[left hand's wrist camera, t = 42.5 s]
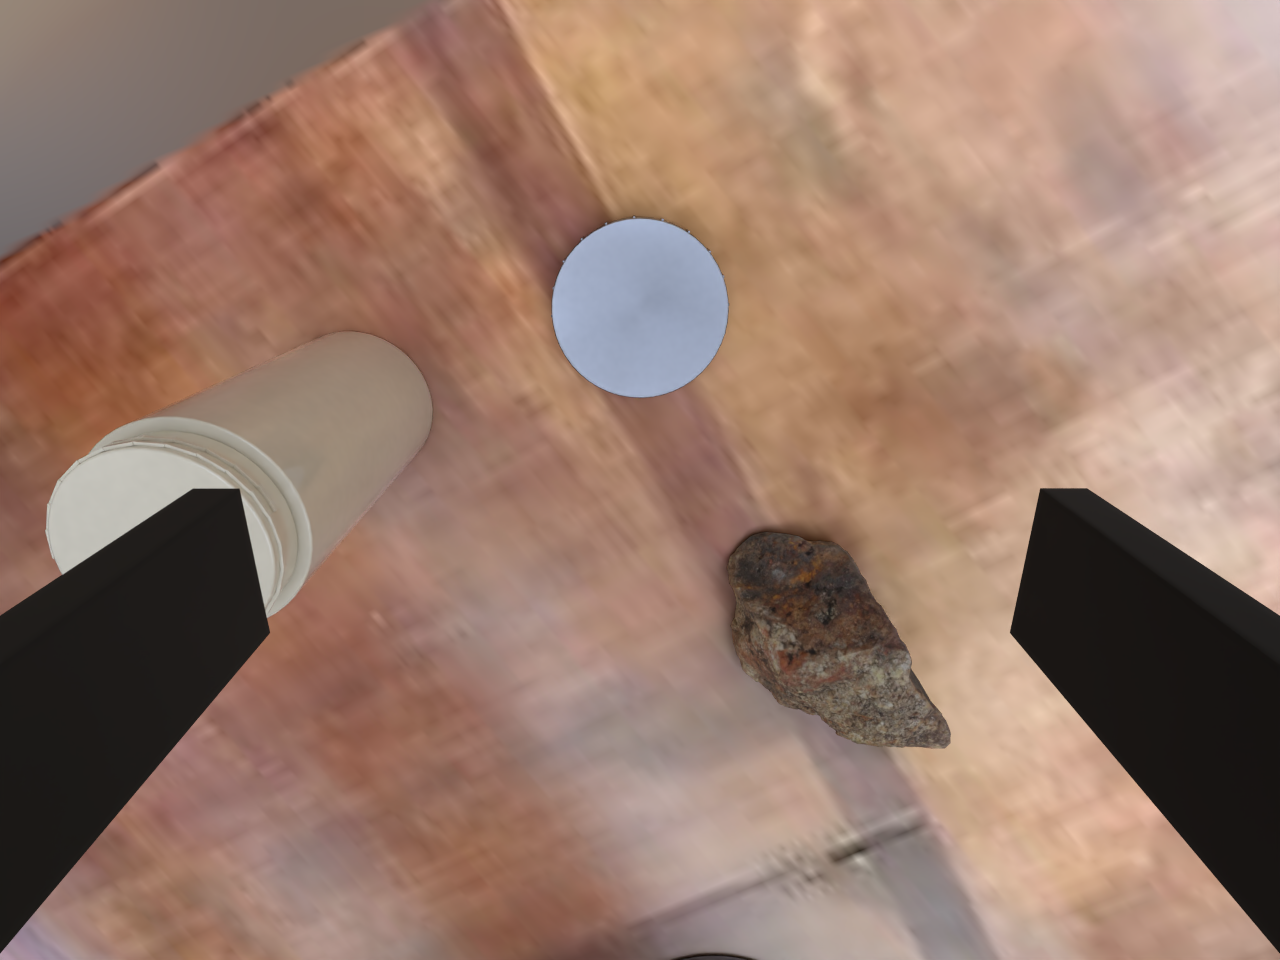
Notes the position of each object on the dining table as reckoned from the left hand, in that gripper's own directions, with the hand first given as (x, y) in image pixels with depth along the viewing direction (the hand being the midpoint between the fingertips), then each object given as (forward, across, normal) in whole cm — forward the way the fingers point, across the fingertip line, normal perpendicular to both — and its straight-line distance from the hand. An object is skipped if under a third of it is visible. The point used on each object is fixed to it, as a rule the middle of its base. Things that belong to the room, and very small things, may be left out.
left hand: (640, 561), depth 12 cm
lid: (+27, 0, 0) cm, 27 cm away
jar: (+29, +16, +5) cm, 33 cm away
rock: (+29, -11, +19) cm, 36 cm away
